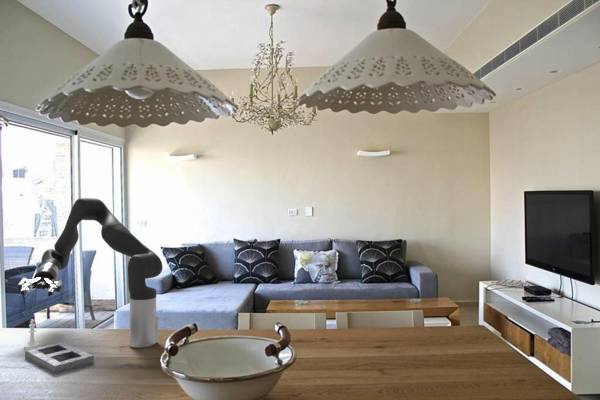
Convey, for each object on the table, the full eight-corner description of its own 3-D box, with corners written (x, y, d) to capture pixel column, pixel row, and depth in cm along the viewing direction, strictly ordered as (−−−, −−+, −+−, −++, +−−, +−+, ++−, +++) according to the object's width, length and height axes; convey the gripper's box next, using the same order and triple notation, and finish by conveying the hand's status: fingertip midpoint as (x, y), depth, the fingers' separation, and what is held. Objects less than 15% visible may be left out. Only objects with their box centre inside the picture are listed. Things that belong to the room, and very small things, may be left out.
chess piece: (43, 345, 160) (43, 317, 160) (33, 349, 155) (34, 321, 155) (30, 344, 161) (30, 317, 161) (20, 349, 156) (20, 320, 156)
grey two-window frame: (62, 348, 157) (62, 341, 157) (93, 363, 143) (93, 355, 143) (24, 357, 147) (25, 350, 147) (54, 374, 134) (55, 366, 134)
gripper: (27, 265, 176) (14, 283, 161) (66, 267, 180) (58, 285, 165) (26, 282, 177) (13, 302, 162) (65, 284, 182) (57, 303, 167)
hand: (36, 293), depth 164 cm, fingers open, 8 cm apart
